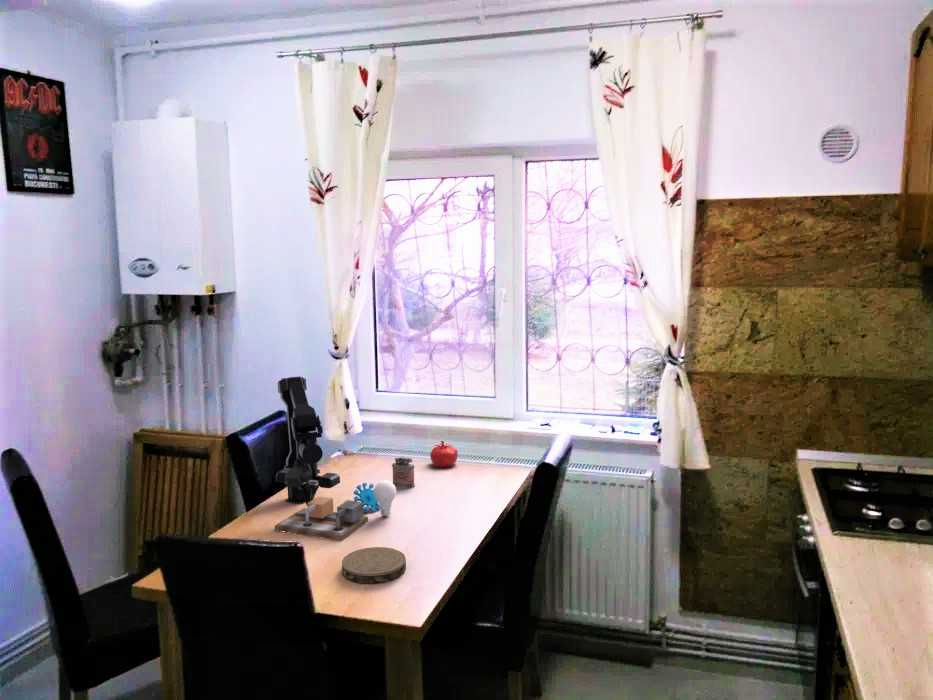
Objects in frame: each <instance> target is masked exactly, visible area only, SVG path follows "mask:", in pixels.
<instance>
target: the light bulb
mask: <svg viewBox="0 0 933 700" xmlns="http://www.w3.org/2000/svg"><path fill="white" fill-rule="evenodd" d="M373 488H374V489H373V490H374V496H375V498H376V499H377V501H378V504H379V505H380V515H381V516H382V517H388V516H389V515H391V513H392V511H391V509H392V503H393V501H394V499H395V498H396V495H397V487H395V486H394V484H393V481H390V480H385V479H384V480H381V481H379V482H378V483H377V484H376V485H375V486H374V487H373Z"/></svg>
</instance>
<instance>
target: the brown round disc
mask: <svg viewBox="0 0 933 700" xmlns="http://www.w3.org/2000/svg"><path fill="white" fill-rule="evenodd" d="M406 560H407V559H406V555H405V554H404V553H403V552H402V551H401V550H398V549H396V548H395V549H394V548H391V547H384V546H382V547H381V546H379V547H378V546H373V547H366V548H361V549H356V550H354V551H351V552H349V553H348V554H347V555H345V556H344V557H343V559H342V561H341V572H342V577H343V578H345V580H346V581H349V582H350V583H353V584H354V583H355V584H359V585H372V586H375V585H381V584H385V583H389V582H390V583H391V582H393V581H395V580H396V579H400V578H401V577H402V576H403V575H404V574H405V572H406V570H407V563H406V562H407V561H406Z"/></svg>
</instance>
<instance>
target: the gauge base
mask: <svg viewBox="0 0 933 700" xmlns="http://www.w3.org/2000/svg"><path fill="white" fill-rule="evenodd" d="M306 508H307V507H306ZM306 508H305V507H303V508H301V509H300V510H297V511H296V512H295V513H293V514H292V515H290V516H289V517H287V518H286V519H284V520H282V521H280V522H278V523H276V525H274V531H275V530H278V531H277V532H280V531H285V532H284V533H287V532H290V533H289V534H293V533H296V534H295V535H300V534H301V536H306V537H307V536H308V537H313V536H315V537H314V538H320V537H322V538H321V539H329V540H334V541H340V540H341V542H343V541H344V540H345V539H347V538H348V537H350V536H351V535H353V534H354V533H355V532H356V531H357V530H359V529H360V528H361V527H363V526H364V525H366V524H367V523H368V522H369V517H368V516H366V515H365V516H364V507H363V502H361V501H354V500H349V499H347V500H345V501H344V502H342V503H341V504H339V505H337V507H336V512H335V511H333V512H332V513H330V514H329V515H327V516H326V517H324V518H316V517H309V524H306V512H305V509H306ZM366 522H367V523H366ZM365 523H366V524H365ZM362 525H363V526H362ZM358 528H359V529H358ZM350 534H351V535H350Z"/></svg>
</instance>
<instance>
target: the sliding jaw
mask: <svg viewBox="0 0 933 700" xmlns="http://www.w3.org/2000/svg"><path fill="white" fill-rule="evenodd" d="M305 512H306V524H309V517H316V518H324V517H326V516H327V515H329V514H330V513H332V512H334V498H333V497H324V496H316V497H314V499H313V500H312V501H310V502H308V503H307V505H306V509H305Z"/></svg>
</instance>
